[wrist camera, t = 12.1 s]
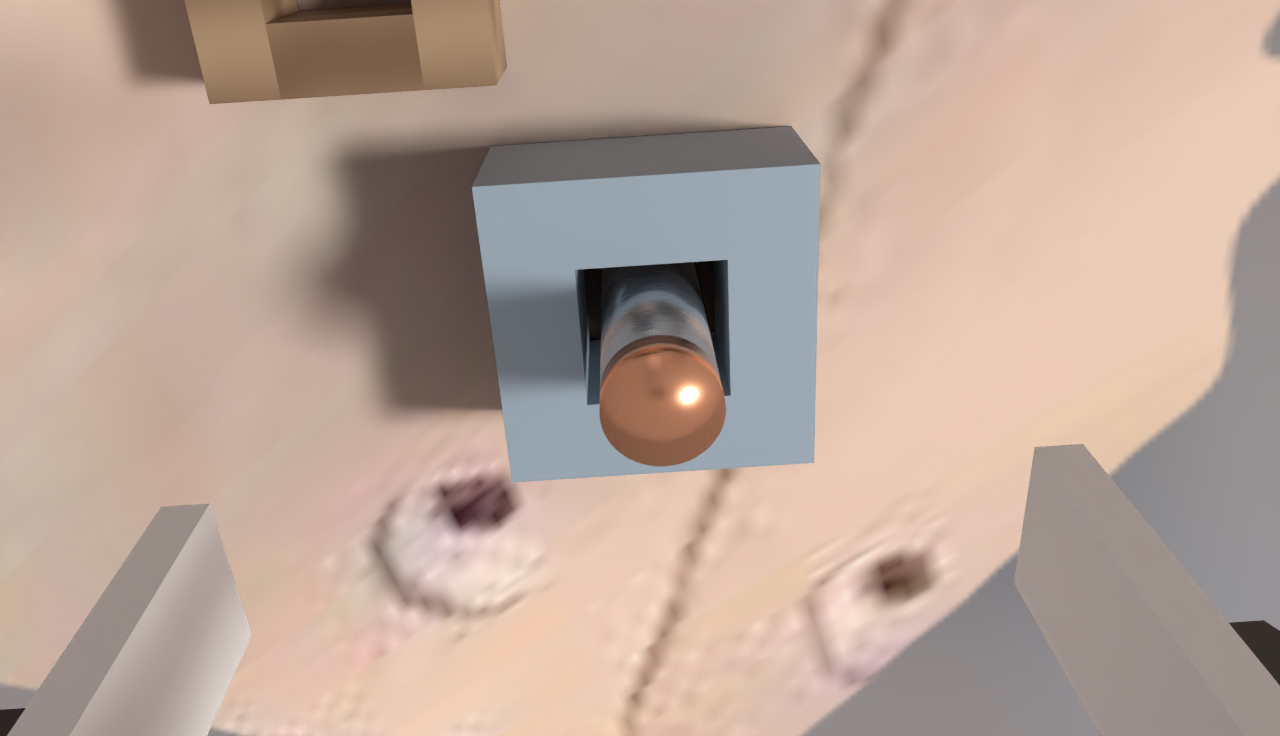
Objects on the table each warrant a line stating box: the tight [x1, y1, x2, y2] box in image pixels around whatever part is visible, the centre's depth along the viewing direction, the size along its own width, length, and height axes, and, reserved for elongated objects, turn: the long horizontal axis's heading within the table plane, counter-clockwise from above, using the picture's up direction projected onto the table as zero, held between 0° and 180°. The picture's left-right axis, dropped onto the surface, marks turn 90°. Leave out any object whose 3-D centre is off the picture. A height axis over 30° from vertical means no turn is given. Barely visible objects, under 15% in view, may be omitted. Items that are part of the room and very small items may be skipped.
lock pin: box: [599, 262, 726, 466], centre depth 36 cm, size 4×4×12 cm
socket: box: [472, 126, 820, 482], centre depth 39 cm, size 12×12×6 cm
